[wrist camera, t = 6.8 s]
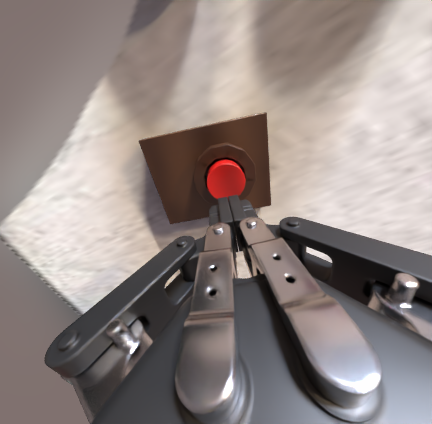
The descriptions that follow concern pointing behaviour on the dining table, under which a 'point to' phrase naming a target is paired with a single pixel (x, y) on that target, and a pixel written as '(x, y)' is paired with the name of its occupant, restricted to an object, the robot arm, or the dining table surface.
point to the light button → (225, 179)
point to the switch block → (208, 164)
